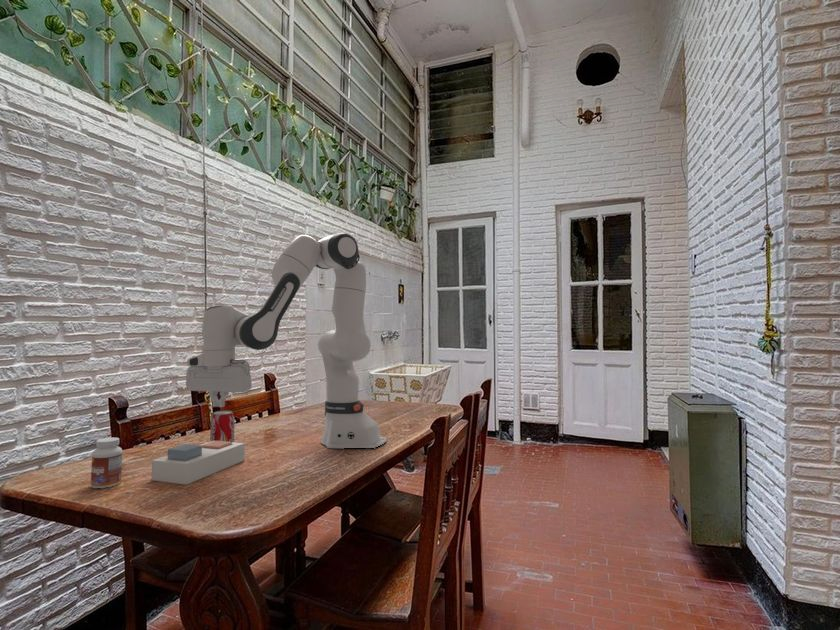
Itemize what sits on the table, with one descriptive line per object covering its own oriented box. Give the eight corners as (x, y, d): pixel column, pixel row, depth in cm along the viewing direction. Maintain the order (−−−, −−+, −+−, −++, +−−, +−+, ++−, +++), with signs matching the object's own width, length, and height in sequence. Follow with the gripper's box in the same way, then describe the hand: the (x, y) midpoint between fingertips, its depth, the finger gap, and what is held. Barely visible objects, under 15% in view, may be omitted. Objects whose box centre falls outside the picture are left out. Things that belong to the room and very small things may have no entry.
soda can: (227, 452, 140) (228, 414, 140) (205, 452, 140) (206, 414, 140) (237, 447, 147) (238, 410, 147) (216, 446, 147) (217, 410, 147)
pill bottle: (84, 487, 108) (86, 440, 108) (110, 479, 114) (112, 435, 114) (100, 490, 106) (102, 443, 106) (126, 483, 111) (128, 438, 112)
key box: (244, 460, 132) (244, 443, 132) (186, 484, 110) (187, 464, 111) (213, 457, 134) (213, 440, 135) (151, 480, 113) (151, 460, 114)
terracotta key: (231, 455, 130) (232, 441, 130) (218, 461, 125) (218, 446, 125) (215, 454, 132) (216, 440, 132) (201, 459, 126) (202, 445, 126)
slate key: (201, 460, 119) (201, 445, 119) (185, 466, 113) (185, 450, 114) (184, 458, 120) (184, 443, 120) (167, 464, 115) (167, 449, 115)
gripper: (256, 359, 131) (256, 406, 131) (198, 358, 137) (198, 403, 136) (242, 360, 125) (242, 410, 125) (182, 360, 131) (182, 407, 130)
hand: (218, 406), depth 131 cm, fingers closed
